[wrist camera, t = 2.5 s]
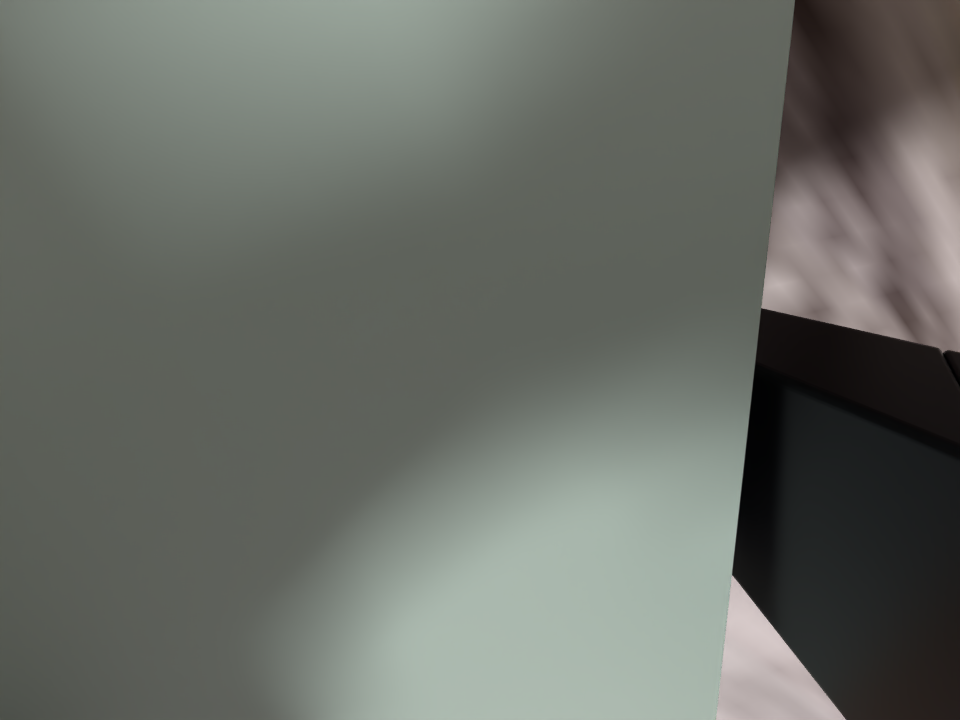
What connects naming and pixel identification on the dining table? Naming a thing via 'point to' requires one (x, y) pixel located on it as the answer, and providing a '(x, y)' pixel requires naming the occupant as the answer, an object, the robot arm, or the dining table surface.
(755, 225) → the card case
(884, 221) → the dining table surface
